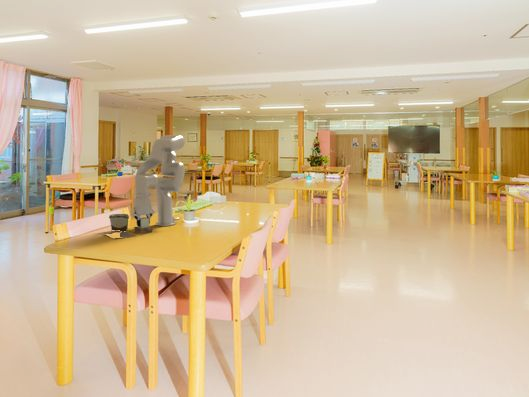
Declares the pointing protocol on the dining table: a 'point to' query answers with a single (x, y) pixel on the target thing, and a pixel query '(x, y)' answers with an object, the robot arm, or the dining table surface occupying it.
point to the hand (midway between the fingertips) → (143, 225)
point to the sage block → (144, 222)
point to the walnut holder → (143, 230)
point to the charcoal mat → (125, 234)
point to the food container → (119, 222)
